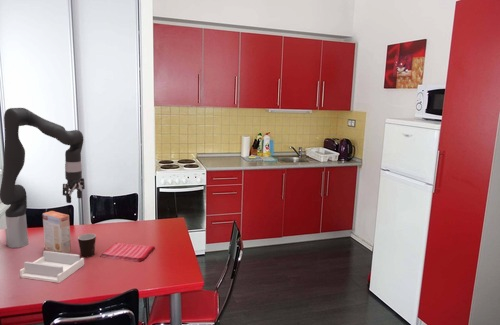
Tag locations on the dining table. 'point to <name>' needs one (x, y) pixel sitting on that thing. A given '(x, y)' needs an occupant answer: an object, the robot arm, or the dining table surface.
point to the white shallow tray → (52, 267)
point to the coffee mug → (87, 244)
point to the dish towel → (128, 252)
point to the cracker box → (56, 232)
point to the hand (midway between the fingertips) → (74, 200)
